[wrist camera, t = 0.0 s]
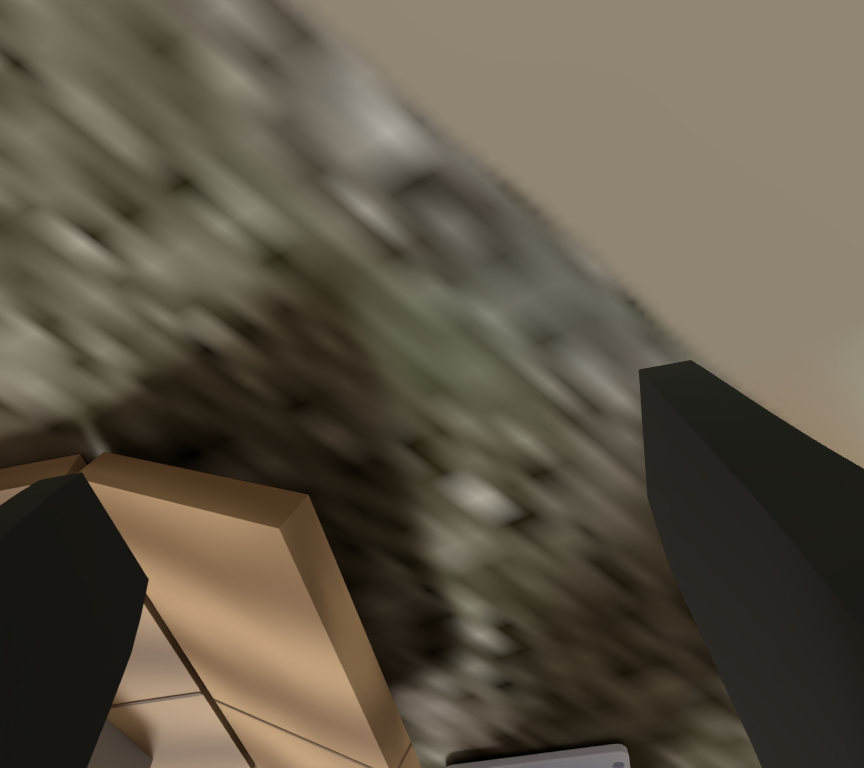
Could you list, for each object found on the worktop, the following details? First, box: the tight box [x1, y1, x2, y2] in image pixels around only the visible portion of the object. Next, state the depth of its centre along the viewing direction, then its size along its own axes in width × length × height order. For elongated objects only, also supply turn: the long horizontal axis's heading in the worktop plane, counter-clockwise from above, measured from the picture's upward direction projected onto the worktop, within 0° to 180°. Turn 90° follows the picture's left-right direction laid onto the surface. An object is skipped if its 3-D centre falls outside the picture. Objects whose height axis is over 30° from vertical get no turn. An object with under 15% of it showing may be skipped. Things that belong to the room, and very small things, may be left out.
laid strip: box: [0, 454, 255, 768], centre depth 25 cm, size 16×8×1 cm, turn 12°
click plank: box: [78, 452, 421, 768], centre depth 23 cm, size 16×8×1 cm, turn 13°
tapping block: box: [87, 719, 153, 768], centre depth 26 cm, size 7×3×2 cm, turn 22°
